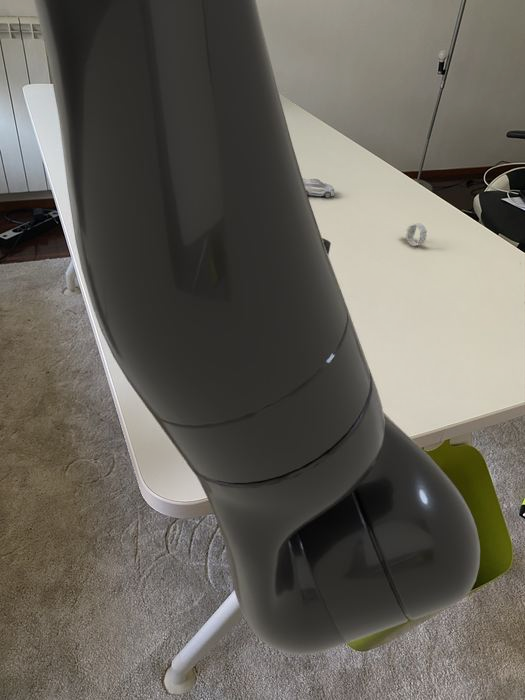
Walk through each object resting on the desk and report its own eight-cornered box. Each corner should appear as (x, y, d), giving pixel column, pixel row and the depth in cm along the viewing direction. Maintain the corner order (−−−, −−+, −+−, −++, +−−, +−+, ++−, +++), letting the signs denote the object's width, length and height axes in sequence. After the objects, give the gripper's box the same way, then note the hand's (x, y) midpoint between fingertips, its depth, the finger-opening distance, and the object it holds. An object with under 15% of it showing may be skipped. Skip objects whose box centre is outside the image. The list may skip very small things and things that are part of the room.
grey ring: (425, 247, 100) (430, 227, 98) (416, 250, 99) (422, 229, 97) (411, 239, 103) (416, 219, 100) (402, 241, 102) (408, 221, 99)
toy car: (335, 198, 114) (338, 184, 112) (297, 196, 113) (299, 182, 111) (333, 191, 117) (335, 177, 115) (295, 189, 116) (297, 175, 114)
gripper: (380, 271, 35) (312, 168, 48) (172, 275, 33) (160, 165, 46) (357, 360, 40) (301, 244, 53) (173, 370, 37) (162, 245, 51)
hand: (235, 207), depth 49 cm, fingers closed
